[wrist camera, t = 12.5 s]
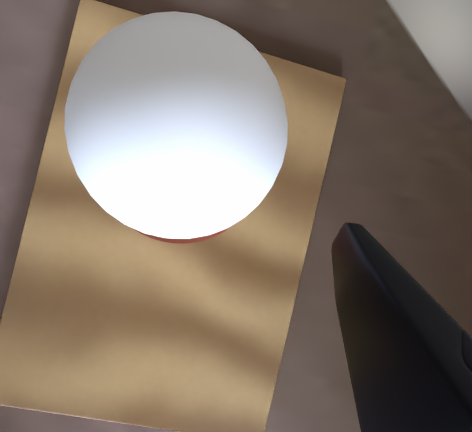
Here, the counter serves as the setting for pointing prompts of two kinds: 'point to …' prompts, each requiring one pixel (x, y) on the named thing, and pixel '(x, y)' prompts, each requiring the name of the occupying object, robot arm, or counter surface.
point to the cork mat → (160, 281)
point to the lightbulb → (176, 125)
